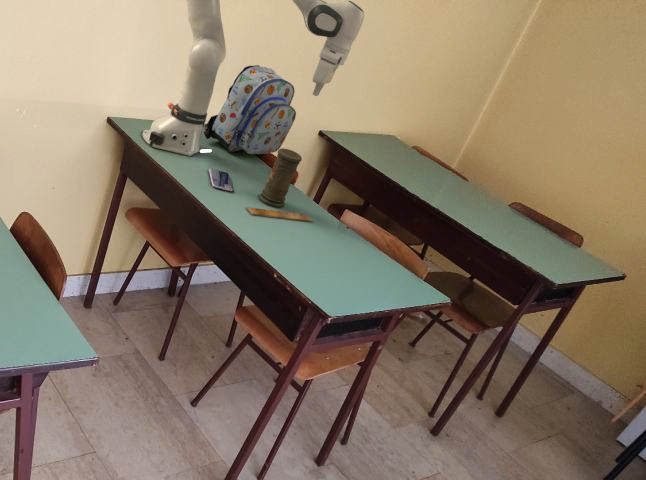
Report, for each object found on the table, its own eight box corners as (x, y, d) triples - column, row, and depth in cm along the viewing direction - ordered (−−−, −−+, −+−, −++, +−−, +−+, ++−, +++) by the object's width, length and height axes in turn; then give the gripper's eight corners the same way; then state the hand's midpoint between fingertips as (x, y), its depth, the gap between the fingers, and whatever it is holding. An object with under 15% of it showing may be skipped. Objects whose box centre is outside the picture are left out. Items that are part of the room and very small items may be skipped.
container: (284, 201, 219) (303, 154, 209) (281, 210, 212) (302, 162, 202) (260, 192, 219) (279, 145, 209) (257, 201, 212) (276, 152, 202)
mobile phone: (228, 172, 223) (233, 190, 211) (228, 174, 223) (232, 192, 212) (209, 167, 221) (212, 184, 209) (208, 169, 222) (212, 187, 210)
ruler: (251, 214, 202) (252, 213, 202) (247, 208, 205) (248, 207, 204) (311, 222, 212) (312, 220, 211) (306, 216, 215) (307, 214, 214)
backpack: (242, 167, 234) (272, 85, 216) (195, 138, 245) (220, 57, 226) (288, 159, 257) (318, 84, 239) (243, 133, 268) (269, 59, 249)
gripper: (330, 51, 217) (312, 89, 225) (320, 51, 200) (301, 93, 207) (346, 58, 217) (327, 96, 224) (337, 59, 199) (318, 101, 207)
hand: (315, 95), depth 216 cm, fingers closed
